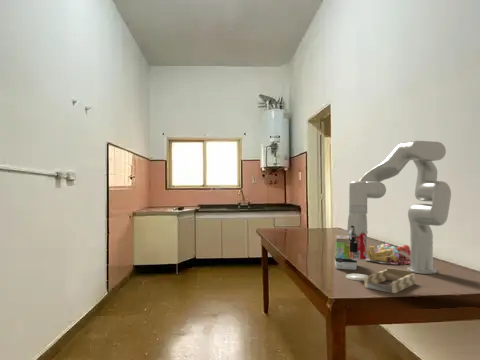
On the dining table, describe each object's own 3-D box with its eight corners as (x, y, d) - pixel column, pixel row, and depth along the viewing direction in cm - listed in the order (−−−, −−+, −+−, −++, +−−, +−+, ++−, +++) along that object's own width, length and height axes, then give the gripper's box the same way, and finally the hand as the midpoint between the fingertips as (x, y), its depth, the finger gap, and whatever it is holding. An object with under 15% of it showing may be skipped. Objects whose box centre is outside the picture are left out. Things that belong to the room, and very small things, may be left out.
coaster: (352, 274, 173) (352, 272, 173) (374, 278, 166) (374, 276, 166) (341, 278, 166) (341, 276, 166) (363, 282, 159) (363, 280, 159)
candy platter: (405, 267, 190) (405, 249, 190) (358, 262, 204) (358, 244, 204) (417, 260, 210) (417, 243, 210) (373, 255, 224) (373, 239, 224)
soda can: (363, 258, 170) (363, 231, 170) (368, 261, 163) (369, 232, 163) (347, 258, 169) (347, 230, 170) (352, 261, 162) (352, 232, 163)
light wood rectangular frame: (385, 278, 165) (385, 267, 165) (414, 283, 157) (414, 271, 157) (364, 287, 150) (364, 274, 150) (395, 293, 142) (395, 279, 142)
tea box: (357, 270, 182) (357, 238, 183) (335, 269, 184) (335, 238, 185) (354, 264, 197) (354, 235, 197) (334, 263, 199) (334, 234, 199)
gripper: (359, 209, 175) (358, 248, 175) (340, 210, 163) (340, 252, 162) (375, 209, 170) (374, 250, 170) (357, 210, 158) (356, 254, 157)
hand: (357, 250), depth 166 cm, fingers closed on soda can, 7 cm apart
